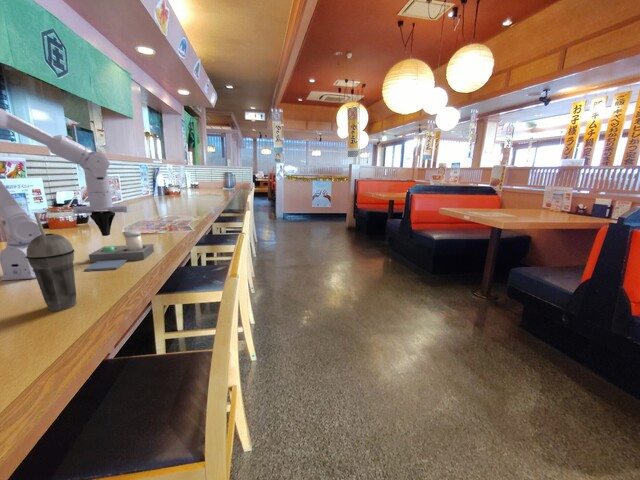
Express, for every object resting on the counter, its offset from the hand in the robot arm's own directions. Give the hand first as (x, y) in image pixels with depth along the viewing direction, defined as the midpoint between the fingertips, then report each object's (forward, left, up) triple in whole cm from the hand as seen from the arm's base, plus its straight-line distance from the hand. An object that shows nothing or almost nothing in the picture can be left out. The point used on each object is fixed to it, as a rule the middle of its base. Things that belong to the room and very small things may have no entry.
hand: (106, 235), depth 94 cm
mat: (-9, -3, -7) cm, 12 cm away
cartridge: (0, -8, -7) cm, 11 cm away
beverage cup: (-37, -6, -8) cm, 38 cm away
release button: (0, 0, -7) cm, 7 cm away
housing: (0, -4, -7) cm, 8 cm away
